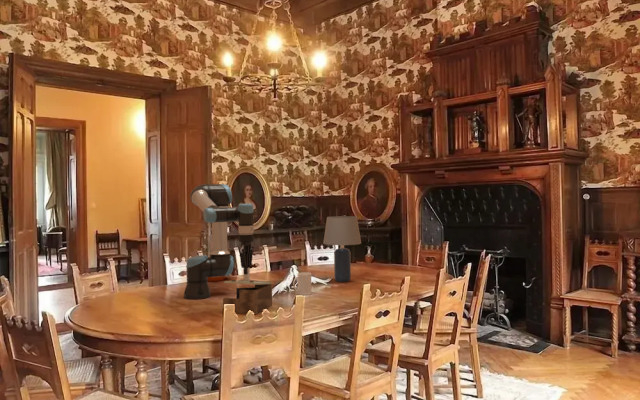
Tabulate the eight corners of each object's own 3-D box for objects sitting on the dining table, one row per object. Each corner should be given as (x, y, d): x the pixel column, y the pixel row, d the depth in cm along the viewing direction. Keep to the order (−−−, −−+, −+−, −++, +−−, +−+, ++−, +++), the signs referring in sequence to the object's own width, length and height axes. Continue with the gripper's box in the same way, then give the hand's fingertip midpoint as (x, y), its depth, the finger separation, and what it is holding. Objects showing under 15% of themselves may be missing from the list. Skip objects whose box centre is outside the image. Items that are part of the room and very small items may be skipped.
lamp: (318, 279, 350) (318, 216, 349) (353, 277, 357) (352, 215, 357) (330, 285, 326) (330, 218, 325) (367, 283, 333) (366, 217, 333)
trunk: (223, 312, 255) (222, 289, 255) (240, 304, 274) (240, 282, 274) (256, 314, 249) (256, 291, 249) (272, 305, 269) (271, 283, 268)
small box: (236, 311, 258) (236, 290, 257) (236, 308, 264) (236, 288, 264) (258, 309, 260) (257, 289, 260) (256, 307, 266) (256, 287, 266)
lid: (224, 283, 256) (224, 279, 256) (239, 282, 273) (240, 279, 273) (257, 284, 251) (257, 281, 251) (271, 284, 268) (271, 280, 268)
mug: (296, 296, 292) (296, 275, 292) (289, 294, 300) (289, 273, 300) (314, 294, 298) (314, 273, 298) (307, 291, 306) (307, 271, 306)
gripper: (247, 235, 252) (247, 282, 253) (258, 233, 265) (258, 278, 265) (233, 234, 255) (234, 282, 255) (244, 232, 267) (245, 278, 267)
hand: (246, 280), depth 260 cm, fingers closed
